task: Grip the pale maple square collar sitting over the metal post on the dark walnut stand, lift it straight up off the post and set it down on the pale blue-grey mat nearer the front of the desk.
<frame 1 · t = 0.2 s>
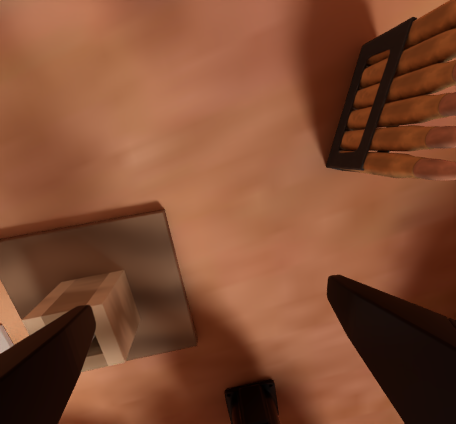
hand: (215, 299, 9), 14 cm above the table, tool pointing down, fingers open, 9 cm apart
collar: (102, 301, 23), point 1 cm above the table, touching post stand
post stand: (106, 295, 24), on the table
ammunition clip: (350, 112, 21), on the table
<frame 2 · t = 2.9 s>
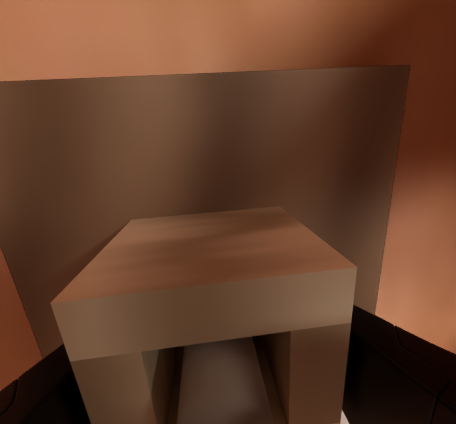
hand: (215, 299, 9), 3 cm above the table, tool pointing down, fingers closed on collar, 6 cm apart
collar: (213, 277, 10), point 1 cm above the table, touching gripper, post stand
post stand: (212, 266, 11), on the table
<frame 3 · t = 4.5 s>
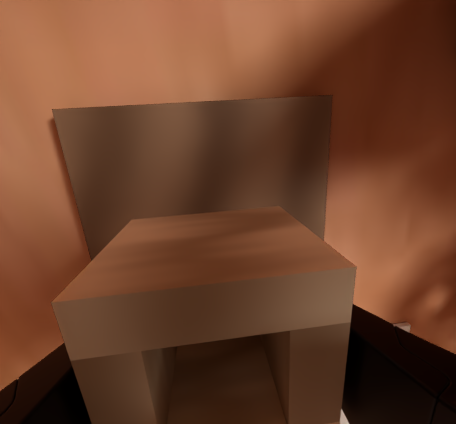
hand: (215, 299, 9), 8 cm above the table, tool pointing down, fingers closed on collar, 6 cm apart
collar: (213, 277, 10), point 6 cm above the table, touching gripper
post stand: (210, 226, 16), on the table
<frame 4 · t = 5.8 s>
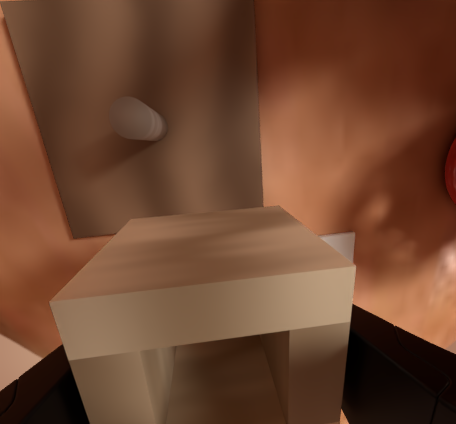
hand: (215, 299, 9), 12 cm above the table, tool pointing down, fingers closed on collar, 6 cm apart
mat: (275, 302, 24), on the table
collar: (213, 277, 10), point 11 cm above the table, touching gripper
post stand: (156, 127, 18), on the table
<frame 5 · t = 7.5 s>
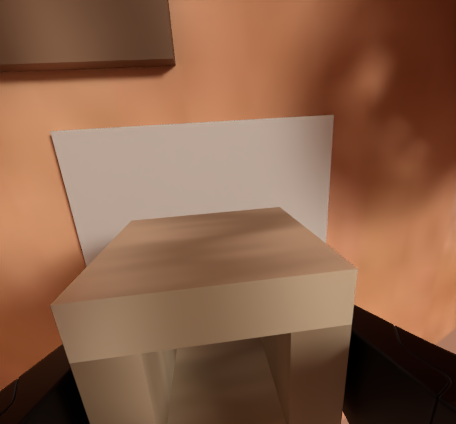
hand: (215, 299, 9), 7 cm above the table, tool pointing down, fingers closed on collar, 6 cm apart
mat: (209, 234, 15), on the table
collar: (213, 278, 10), point 5 cm above the table, touching gripper
when the fingers open (3 cm above the table, at t = 9.0 s): collar drops 2 cm, resting on mat.
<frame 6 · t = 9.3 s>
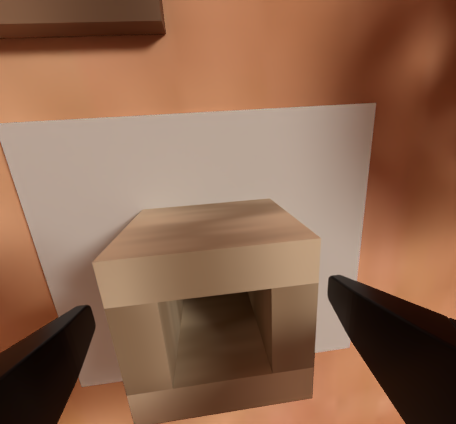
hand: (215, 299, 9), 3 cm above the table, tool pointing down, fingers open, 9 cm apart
mat: (211, 257, 12), on the table
collar: (212, 260, 12), resting on mat
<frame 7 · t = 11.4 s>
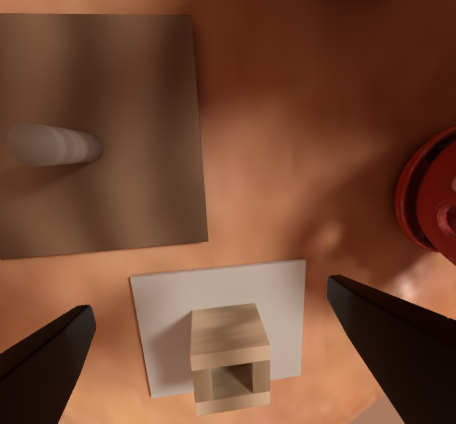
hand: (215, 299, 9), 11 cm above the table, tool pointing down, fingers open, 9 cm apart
plant pot: (435, 187, 22), on the table
mat: (224, 329, 23), on the table
collar: (225, 332, 22), resting on mat
post stand: (94, 147, 17), on the table
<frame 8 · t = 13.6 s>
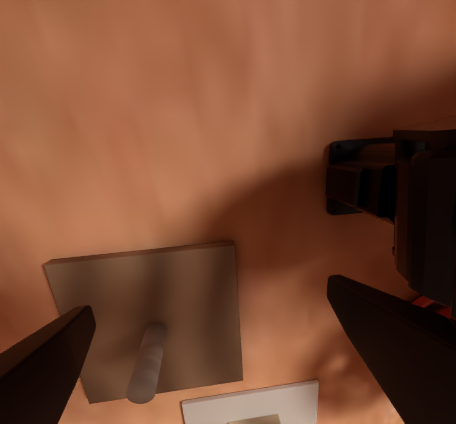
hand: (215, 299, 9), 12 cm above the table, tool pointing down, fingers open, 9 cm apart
plant pot: (424, 322, 27), on the table
post stand: (158, 322, 23), on the table
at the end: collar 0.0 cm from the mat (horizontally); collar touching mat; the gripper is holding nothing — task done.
